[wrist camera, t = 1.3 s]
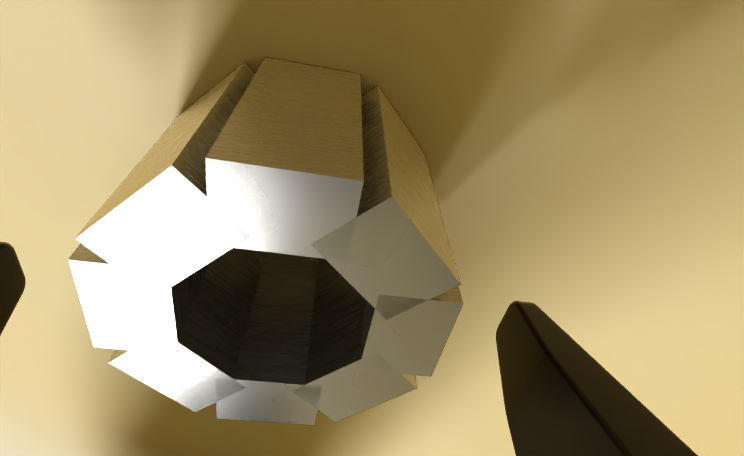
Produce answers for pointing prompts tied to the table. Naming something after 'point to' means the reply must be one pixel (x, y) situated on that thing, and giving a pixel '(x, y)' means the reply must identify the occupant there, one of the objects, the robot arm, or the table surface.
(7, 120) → the table surface
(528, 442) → the robot arm
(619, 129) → the table surface
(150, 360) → the hub ring
